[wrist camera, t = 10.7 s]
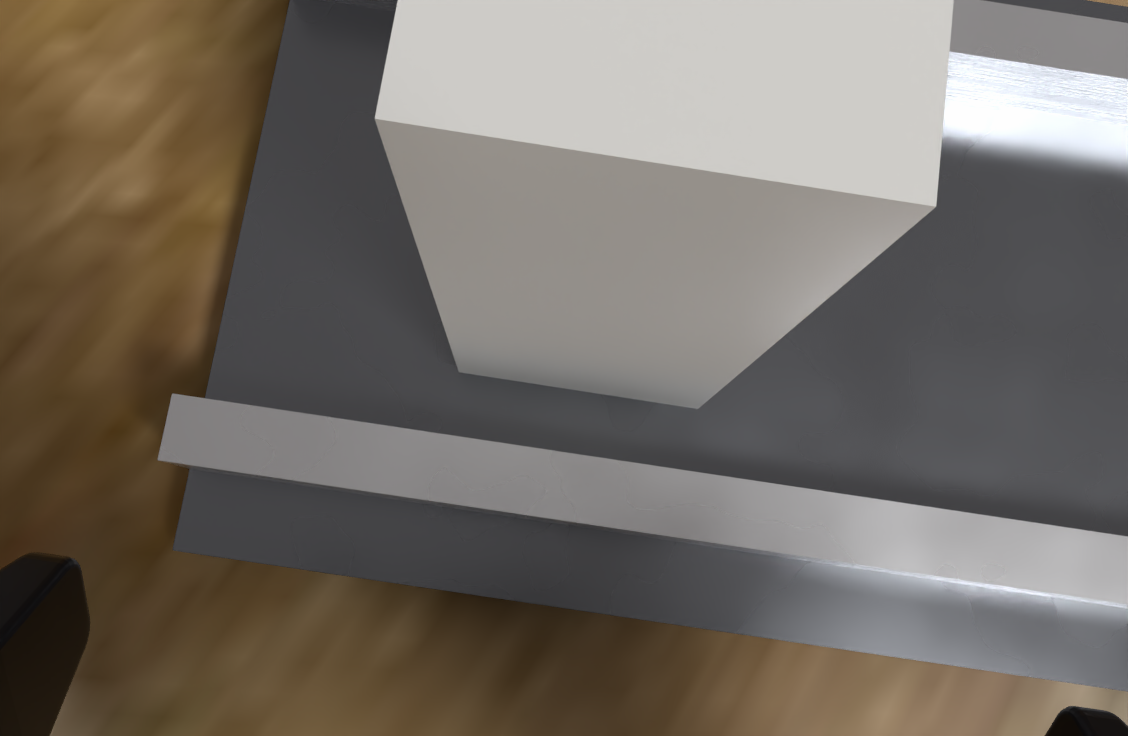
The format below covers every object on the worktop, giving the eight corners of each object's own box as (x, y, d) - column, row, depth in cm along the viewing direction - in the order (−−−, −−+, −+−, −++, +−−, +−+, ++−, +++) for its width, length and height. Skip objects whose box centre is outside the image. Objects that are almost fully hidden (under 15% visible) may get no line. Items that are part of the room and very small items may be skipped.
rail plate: (1359, 75, 20) (1478, 7, 17) (1358, 723, 18) (1494, 749, 15) (325, -87, 20) (297, -179, 17) (192, 551, 17) (138, 549, 15)
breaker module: (698, 409, 17) (936, 207, 7) (458, 372, 17) (374, 118, 7) (737, 96, 18) (991, -449, 8) (512, 61, 18) (501, -528, 8)
